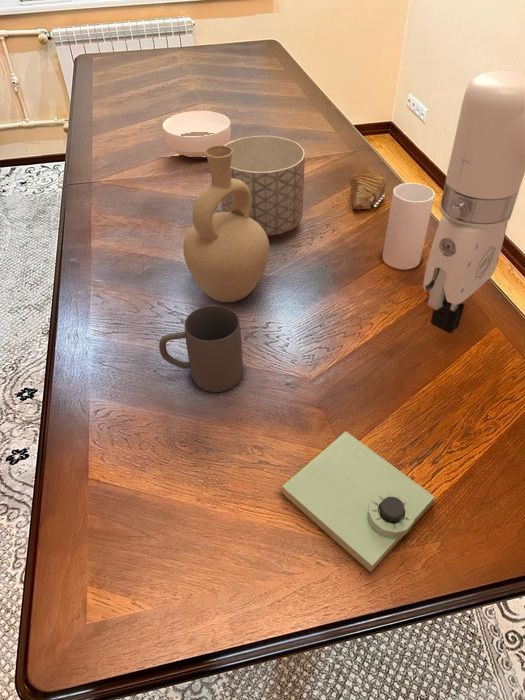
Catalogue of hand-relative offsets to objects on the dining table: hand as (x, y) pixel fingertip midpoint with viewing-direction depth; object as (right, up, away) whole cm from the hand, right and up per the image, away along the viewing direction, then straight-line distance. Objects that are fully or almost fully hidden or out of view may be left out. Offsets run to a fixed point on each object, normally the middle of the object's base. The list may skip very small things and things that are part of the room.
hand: (444, 325), depth 71 cm
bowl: (-43, +57, +91) cm, 115 cm away
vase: (-31, +9, +41) cm, 52 cm away
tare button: (-7, -25, 0) cm, 26 cm away
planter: (-24, +27, +60) cm, 70 cm away
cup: (+7, +17, +48) cm, 52 cm away
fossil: (+3, +35, +67) cm, 75 cm away
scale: (-11, -24, +5) cm, 27 cm away
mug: (-34, -8, +23) cm, 42 cm away
